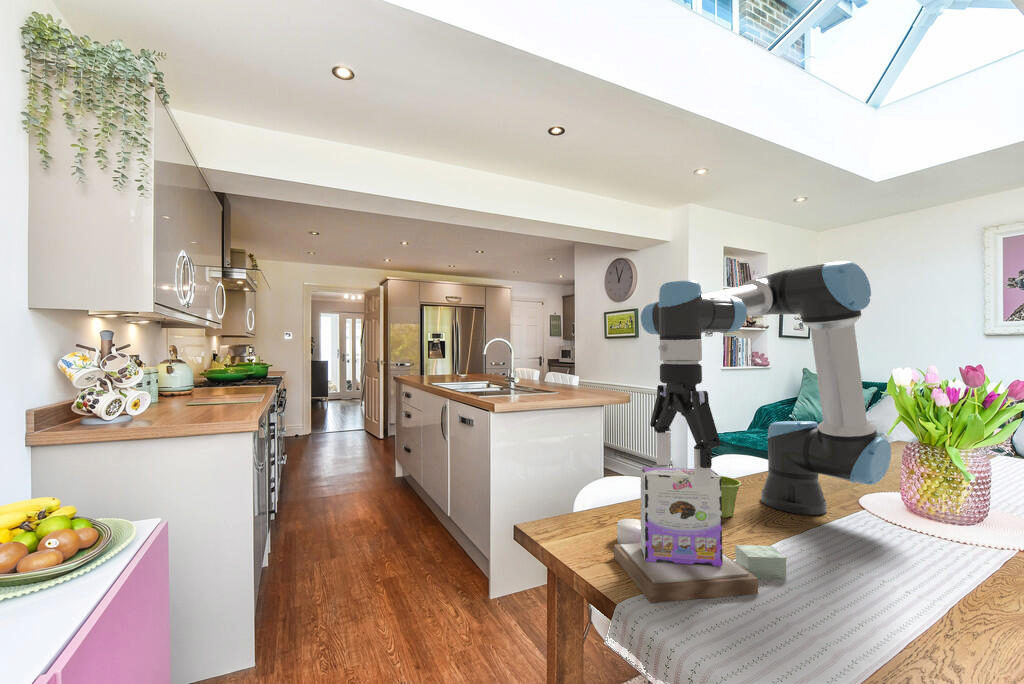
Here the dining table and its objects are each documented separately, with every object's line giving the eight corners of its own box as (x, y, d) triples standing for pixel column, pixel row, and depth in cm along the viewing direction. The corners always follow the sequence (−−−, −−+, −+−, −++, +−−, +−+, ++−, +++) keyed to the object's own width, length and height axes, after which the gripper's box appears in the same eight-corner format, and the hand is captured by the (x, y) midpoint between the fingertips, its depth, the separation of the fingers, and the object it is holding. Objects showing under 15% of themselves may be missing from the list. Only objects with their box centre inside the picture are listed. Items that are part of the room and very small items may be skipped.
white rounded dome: (641, 535, 99) (641, 517, 99) (656, 549, 92) (656, 530, 92) (612, 537, 98) (612, 519, 98) (625, 551, 91) (625, 532, 91)
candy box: (712, 553, 84) (712, 468, 84) (723, 568, 78) (723, 476, 78) (639, 547, 86) (639, 464, 86) (644, 562, 80) (644, 473, 80)
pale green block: (771, 566, 85) (771, 545, 85) (786, 579, 80) (786, 557, 80) (735, 565, 86) (735, 544, 86) (748, 578, 81) (748, 556, 81)
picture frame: (703, 551, 91) (703, 536, 91) (758, 593, 75) (758, 576, 75) (613, 557, 88) (613, 542, 88) (650, 602, 72) (650, 584, 72)
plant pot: (743, 523, 106) (742, 487, 106) (701, 517, 110) (701, 483, 110) (738, 510, 115) (738, 477, 115) (700, 505, 118) (700, 473, 119)
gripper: (633, 360, 94) (634, 458, 94) (700, 365, 69) (702, 497, 69) (665, 360, 95) (666, 456, 95) (742, 364, 71) (744, 494, 70)
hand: (681, 474), depth 82 cm, fingers open, 13 cm apart
